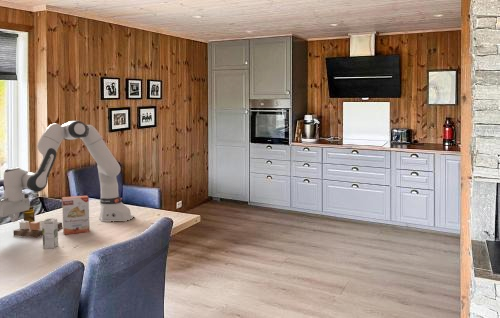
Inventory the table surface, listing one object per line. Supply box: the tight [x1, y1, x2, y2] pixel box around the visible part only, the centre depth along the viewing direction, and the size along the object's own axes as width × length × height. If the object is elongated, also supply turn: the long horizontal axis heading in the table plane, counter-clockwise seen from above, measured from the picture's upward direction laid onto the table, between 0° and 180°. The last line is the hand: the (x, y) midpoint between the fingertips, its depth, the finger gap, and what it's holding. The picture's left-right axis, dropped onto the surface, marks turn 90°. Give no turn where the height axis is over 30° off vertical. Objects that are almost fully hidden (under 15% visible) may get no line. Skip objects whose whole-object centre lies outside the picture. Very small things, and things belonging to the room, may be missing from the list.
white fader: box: [18, 220, 30, 229], centre depth 249 cm, size 4×3×4 cm
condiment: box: [23, 205, 36, 225], centre depth 267 cm, size 7×8×12 cm
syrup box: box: [42, 218, 59, 250], centre depth 227 cm, size 6×6×14 cm
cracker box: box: [61, 195, 91, 235], centre depth 253 cm, size 14×6×21 cm, turn 117°
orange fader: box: [30, 221, 40, 230], centre depth 248 cm, size 4×3×4 cm
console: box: [13, 220, 63, 239], centre depth 256 cm, size 15×22×3 cm
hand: (14, 221), depth 243 cm, fingers closed
